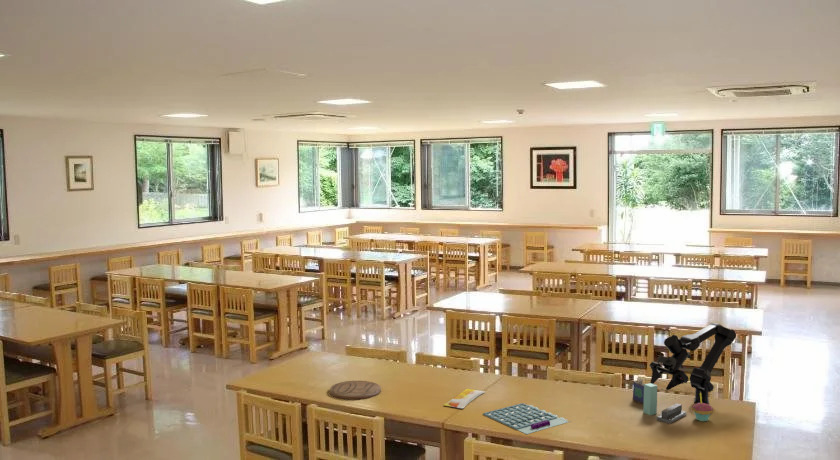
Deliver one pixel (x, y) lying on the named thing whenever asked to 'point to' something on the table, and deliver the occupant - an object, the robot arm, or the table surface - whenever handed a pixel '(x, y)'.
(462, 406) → the food package
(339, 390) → the trivet
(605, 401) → the table surface
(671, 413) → the grey stepped block
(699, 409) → the cupcake
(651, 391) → the peg
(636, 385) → the blue gift bag
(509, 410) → the calendar
